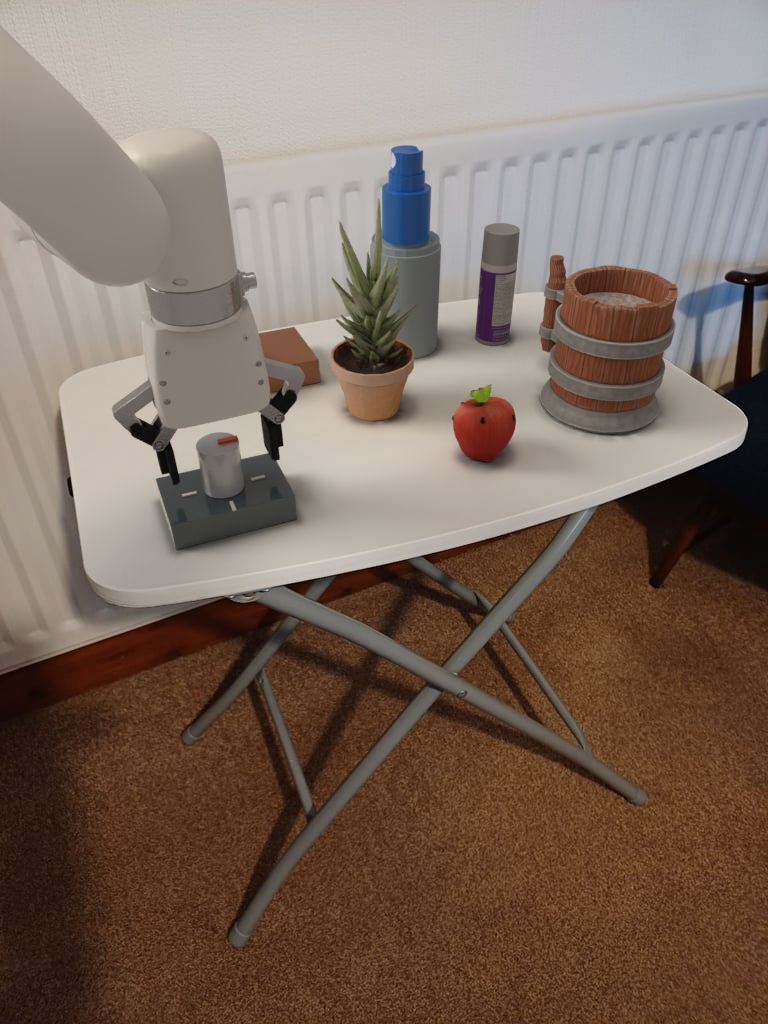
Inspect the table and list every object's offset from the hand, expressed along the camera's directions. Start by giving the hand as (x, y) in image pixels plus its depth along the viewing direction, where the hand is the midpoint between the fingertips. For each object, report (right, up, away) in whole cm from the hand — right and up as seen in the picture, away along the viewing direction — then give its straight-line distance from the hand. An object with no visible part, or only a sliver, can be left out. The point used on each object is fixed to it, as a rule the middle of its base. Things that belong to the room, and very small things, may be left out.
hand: (224, 464), depth 75 cm
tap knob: (0, -2, +1) cm, 2 cm away
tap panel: (0, -4, +3) cm, 6 cm away
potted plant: (+14, +8, +19) cm, 25 cm away
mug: (+40, +10, +21) cm, 46 cm away
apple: (+26, +1, +11) cm, 28 cm away
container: (+30, +19, +33) cm, 49 cm away
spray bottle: (+18, +18, +32) cm, 41 cm away
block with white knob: (0, +13, +25) cm, 29 cm away
